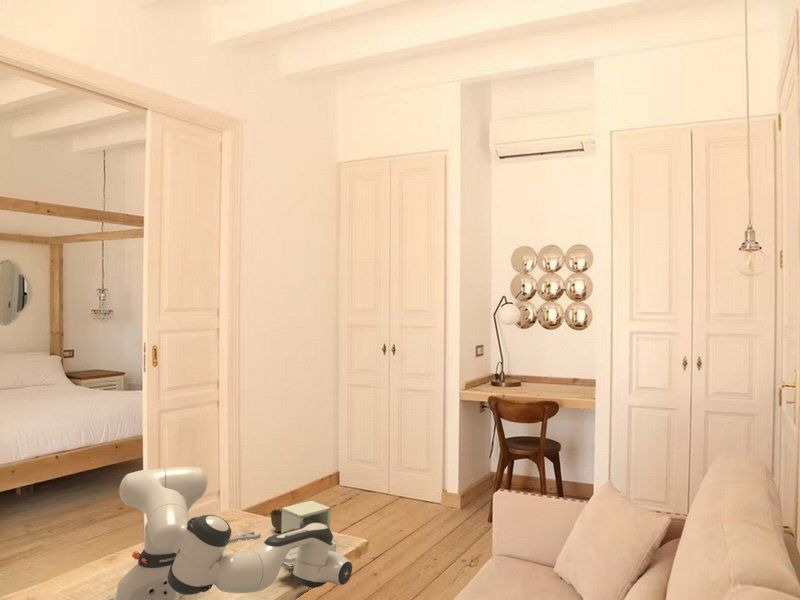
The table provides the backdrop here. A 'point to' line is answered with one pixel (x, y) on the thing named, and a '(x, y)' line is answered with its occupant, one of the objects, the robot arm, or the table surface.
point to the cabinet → (304, 515)
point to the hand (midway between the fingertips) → (291, 547)
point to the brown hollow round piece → (276, 519)
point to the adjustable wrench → (245, 536)
